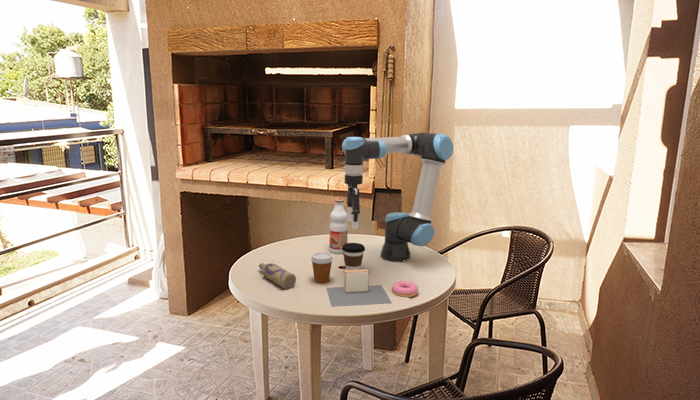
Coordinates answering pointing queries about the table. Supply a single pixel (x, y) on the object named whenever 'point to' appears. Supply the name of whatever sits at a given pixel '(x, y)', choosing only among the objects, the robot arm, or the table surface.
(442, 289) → the table surface
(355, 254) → the coffee cup
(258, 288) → the table surface
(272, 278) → the decorative bottle
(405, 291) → the doughnut
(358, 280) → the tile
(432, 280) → the table surface
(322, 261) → the disposable coffee cup
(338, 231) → the fruit juice
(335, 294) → the mat
